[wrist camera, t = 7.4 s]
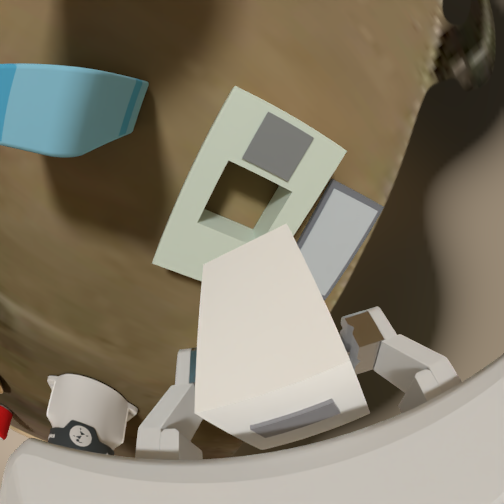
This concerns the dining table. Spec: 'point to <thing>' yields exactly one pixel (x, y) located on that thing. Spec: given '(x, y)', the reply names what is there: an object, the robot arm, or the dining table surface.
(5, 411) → the beverage can
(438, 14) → the dining table surface
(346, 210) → the phone
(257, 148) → the socket strip
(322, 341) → the plug
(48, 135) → the blue rounded block
